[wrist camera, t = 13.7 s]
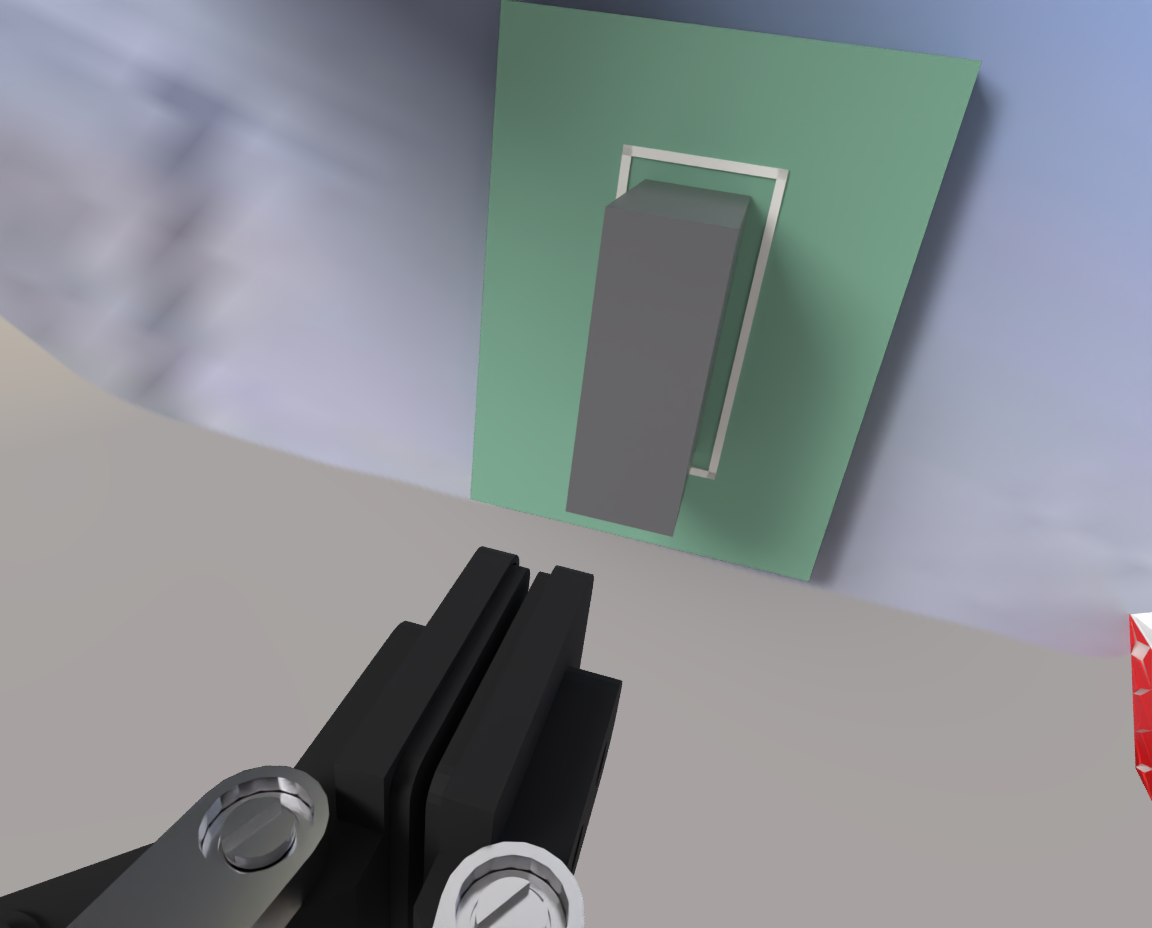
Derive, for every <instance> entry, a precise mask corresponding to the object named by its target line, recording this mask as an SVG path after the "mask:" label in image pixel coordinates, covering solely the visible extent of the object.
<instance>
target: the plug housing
mask: <svg viewBox="0 0 1152 928" xmlns="http://www.w3.org/2000/svg"><path fill="white" fill-rule="evenodd" d="M750 198H751V196H747V195H741V194H735V193H729V192H723V191H716V190H710V189H704V188H698V187H692V186H685V185H679V184H673V183H667V182H661V181H654V180H648V179H645V180H643V181H642V182H640V183H639V184H637V185H636V186H635V187H633V188H632V189H630V190H629V191H627V192H626V193H624V194H623V195H621V196H620V197H619V198H617V199H616V200H614V201H613V202H611V203H610V204H608V205H607V206H605V214H604V221H603V229H602V237H601V244H600V252H599V259H598V267H597V275H596V282H595V290H594V298H593V305H592V313H591V321H590V328H589V336H588V343H587V351H586V359H585V366H584V374H583V382H582V389H581V397H580V404H579V412H578V420H577V427H576V435H575V443H574V450H573V458H572V465H571V473H570V481H569V488H568V496H567V504H566V512H570V513H574V514H578V515H583V516H587V517H591V518H595V519H599V520H604V521H608V522H612V523H616V524H620V525H624V526H629V527H633V528H637V529H641V530H645V531H650V532H654V533H658V534H662V535H666V536H670V537H673V534H674V530H675V526H676V523H677V519H678V515H679V511H680V507H681V504H682V500H683V496H684V492H685V488H686V485H687V481H688V477H689V473H690V469H691V466H692V462H693V458H694V454H695V450H696V445H697V441H698V436H699V432H700V427H701V422H702V418H703V413H704V409H705V404H706V400H707V395H708V390H709V386H710V381H711V377H712V372H713V367H714V363H715V358H716V354H717V349H718V345H719V340H720V335H721V331H722V326H723V322H724V317H725V312H726V308H727V303H728V299H729V294H730V290H731V285H732V280H733V276H734V271H735V267H736V262H737V258H738V253H739V248H740V244H741V239H742V235H743V230H744V225H745V221H746V216H747V212H748V207H749V203H750Z"/></svg>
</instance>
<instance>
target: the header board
mask: <svg viewBox="0 0 1152 928" xmlns="http://www.w3.org/2000/svg"><path fill="white" fill-rule="evenodd" d="M981 62H982V61H979V60H971V59H963V58H955V57H947V56H940V55H932V54H924V53H916V52H908V51H900V50H893V49H885V48H877V47H869V46H861V45H854V44H846V43H838V42H830V41H822V40H815V39H807V38H799V37H791V36H783V35H776V34H768V33H760V32H752V31H744V30H736V29H729V28H721V27H713V26H705V25H697V24H690V23H682V22H674V21H666V20H658V19H651V18H643V17H635V16H627V15H619V14H611V13H604V12H596V11H588V10H580V9H572V8H565V7H557V6H549V5H541V4H533V3H526V2H518V1H510V0H501V10H500V26H499V42H498V58H497V75H496V91H495V107H494V123H493V139H492V156H491V172H490V188H489V204H488V221H487V237H486V253H485V269H484V285H483V302H482V318H481V334H480V350H479V367H478V383H477V399H476V415H475V432H474V448H473V464H472V480H471V496H470V499H471V500H475V501H480V502H484V503H488V504H492V505H496V506H500V507H504V508H508V509H512V510H517V511H521V512H525V513H529V514H533V515H537V516H541V517H545V518H549V519H553V520H558V521H562V522H566V523H570V524H574V525H578V526H582V527H586V528H590V529H595V530H599V531H603V532H607V533H611V534H615V535H619V536H623V537H627V538H632V539H636V540H640V541H644V542H648V543H652V544H656V545H660V546H664V547H668V548H673V549H677V550H681V551H685V552H689V553H693V554H697V555H701V556H705V557H710V558H714V559H718V560H722V561H726V562H730V563H734V564H738V565H742V566H747V567H751V568H755V569H759V570H763V571H767V572H771V573H775V574H779V575H783V576H788V577H792V578H796V579H800V580H804V581H808V582H809V579H810V576H811V573H812V570H813V567H814V564H815V561H816V558H817V555H818V552H819V549H820V546H821V543H822V540H823V537H824V534H825V531H826V528H827V525H828V522H829V519H830V516H831V513H832V510H833V507H834V504H835V501H836V498H837V495H838V492H839V489H840V486H841V483H842V480H843V477H844V474H845V471H846V468H847V465H848V462H849V459H850V456H851V453H852V450H853V447H854V444H855V441H856V438H857V435H858V432H859V429H860V426H861V423H862V420H863V417H864V414H865V411H866V408H867V405H868V402H869V399H870V396H871V393H872V390H873V387H874V384H875V381H876V378H877V375H878V372H879V369H880V366H881V363H882V360H883V357H884V354H885V351H886V348H887V345H888V342H889V339H890V336H891V333H892V330H893V327H894V324H895V321H896V318H897V315H898V312H899V308H900V305H901V302H902V299H903V296H904V293H905V290H906V287H907V284H908V281H909V278H910V275H911V272H912V269H913V266H914V263H915V260H916V257H917V254H918V251H919V248H920V245H921V242H922V239H923V236H924V233H925V230H926V227H927V224H928V221H929V218H930V215H931V212H932V209H933V206H934V203H935V200H936V197H937V194H938V191H939V188H940V185H941V182H942V179H943V176H944V173H945V170H946V167H947V164H948V161H949V158H950V155H951V152H952V149H953V146H954V143H955V140H956V137H957V134H958V131H959V128H960V125H961V122H962V119H963V116H964V113H965V110H966V107H967V104H968V101H969V98H970V95H971V92H972V89H973V86H974V83H975V80H976V77H977V74H978V71H979V68H980V65H981ZM645 179H648V180H654V181H661V182H667V183H673V184H679V185H685V186H692V187H698V188H704V189H710V190H716V191H723V192H729V193H735V194H741V195H747V196H751V198H750V203H749V207H748V212H747V216H746V221H745V225H744V230H743V235H742V239H741V244H740V248H739V253H738V258H737V262H736V267H735V271H734V276H733V280H732V285H731V290H730V294H729V299H728V303H727V308H726V312H725V317H724V322H723V326H722V331H721V335H720V340H719V345H718V349H717V354H716V358H715V363H714V367H713V372H712V377H711V381H710V386H709V390H708V395H707V400H706V404H705V409H704V413H703V418H702V422H701V427H700V432H699V436H698V441H697V445H696V450H695V454H694V458H693V462H692V466H691V469H690V473H689V477H688V481H687V485H686V488H685V492H684V496H683V500H682V504H681V507H680V511H679V515H678V519H677V523H676V526H675V530H674V534H673V537H670V536H666V535H662V534H658V533H654V532H650V531H645V530H641V529H637V528H633V527H629V526H624V525H620V524H616V523H612V522H608V521H604V520H599V519H595V518H591V517H587V516H583V515H578V514H574V513H570V512H566V504H567V496H568V488H569V481H570V473H571V465H572V458H573V450H574V443H575V435H576V427H577V420H578V412H579V404H580V397H581V389H582V382H583V374H584V366H585V359H586V351H587V343H588V336H589V328H590V321H591V313H592V305H593V298H594V290H595V282H596V275H597V267H598V259H599V252H600V244H601V237H602V229H603V221H604V214H605V206H607V205H608V204H610V203H611V202H613V201H614V200H616V199H617V198H619V197H620V196H621V195H623V194H624V193H626V192H627V191H629V190H630V189H632V188H633V187H635V186H636V185H637V184H639V183H640V182H642V181H643V180H645Z"/></svg>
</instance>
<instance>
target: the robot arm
mask: <svg viewBox="0 0 1152 928" xmlns="http://www.w3.org/2000/svg"><path fill="white" fill-rule="evenodd" d="M529 580H530V570H529V569H528V568H524V567H521V566H519V557H518V556H517V555H514V554H511V553H506V552H503V551H499V550H495V549H491V548H487V547H483V546H482V547H479V548H478V550H477V551H476V552H475V554H474V555H473V557H472V558H471V560H470V561H469V563H468V564H467V566H466V567H465V569H464V570H463V572H462V573H461V575H460V576H459V578H458V579H457V580H456V582H455V583H454V585H453V586H452V588H451V589H450V591H449V593H448V594H447V595H446V597H445V598H444V600H443V601H442V603H441V604H440V606H439V607H438V609H437V610H436V612H435V613H434V615H433V616H432V618H431V619H430V621H429V622H428V624H427V625H426V626H423V625H419V624H416V623H412V622H408V621H404V622H402V623H400V624H399V625H398V626H397V627H396V628H395V630H394V631H393V632H392V633H391V635H390V636H389V638H388V639H387V640H386V642H385V643H384V644H383V646H382V647H381V649H380V650H379V652H378V653H377V654H376V656H375V657H374V658H373V660H372V661H371V662H370V664H369V665H368V667H367V668H366V669H365V671H364V672H363V674H362V675H361V676H360V678H359V679H358V680H357V682H356V683H355V685H354V686H353V687H352V689H351V690H350V691H349V693H348V694H347V695H346V697H345V698H344V700H343V701H342V702H341V704H340V705H339V706H338V708H337V709H336V711H335V712H334V714H333V715H332V716H331V718H330V719H329V721H328V722H327V723H326V725H325V726H324V727H323V729H322V730H321V731H320V733H319V734H318V736H317V737H316V738H315V740H314V741H313V743H312V744H311V745H310V746H309V748H308V749H307V751H306V752H305V753H304V755H303V756H302V758H301V759H300V760H299V762H298V763H297V765H296V766H295V767H294V768H291V767H287V766H262V767H258V768H253V769H249V770H244V771H242V772H240V773H238V774H236V775H234V776H231V777H229V778H227V779H225V780H223V781H222V782H220V783H219V784H218V785H216V787H214V788H213V789H211V790H210V791H209V792H207V793H206V794H205V795H204V796H203V797H202V798H201V799H200V800H199V801H198V802H196V803H195V804H194V805H193V806H192V807H191V808H190V809H189V810H188V811H187V812H186V813H185V814H184V815H183V816H182V817H181V818H180V819H179V820H178V821H177V822H176V823H175V824H174V825H173V826H172V827H170V828H169V829H168V830H167V831H166V832H165V833H164V834H163V835H162V836H161V837H160V838H159V839H158V840H157V841H156V842H155V843H152V844H149V845H146V846H143V847H140V848H138V849H135V850H132V851H129V852H126V853H123V854H121V855H118V856H115V857H112V858H109V859H107V860H104V861H101V862H98V863H96V864H93V865H90V866H87V867H84V868H81V869H78V870H76V871H73V872H70V873H67V874H64V875H62V876H59V877H56V878H53V879H50V880H48V881H45V882H42V883H39V884H36V885H34V886H31V887H28V888H25V889H22V890H19V891H17V892H14V893H11V894H8V895H5V896H3V897H0V928H583V927H584V910H583V897H582V895H581V892H580V890H579V887H578V884H577V882H576V879H575V877H574V873H575V869H576V866H577V862H578V859H579V855H580V851H581V848H582V844H583V841H584V837H585V833H586V830H587V826H588V823H589V819H590V816H591V812H592V808H593V805H594V801H595V798H596V794H597V791H598V787H599V783H600V780H601V776H602V772H603V769H604V764H605V760H606V757H607V752H608V749H609V745H610V740H611V736H612V731H613V727H614V722H615V718H616V713H617V708H618V703H619V698H620V693H621V687H622V681H621V680H618V679H614V678H611V677H607V676H603V675H600V674H596V673H592V672H588V671H585V670H582V669H580V663H581V657H582V651H583V645H584V638H585V632H586V626H587V619H588V613H589V607H590V601H591V595H592V589H593V581H594V576H593V574H589V573H585V572H581V571H577V570H574V569H570V568H566V567H562V566H555V568H554V570H553V571H552V573H551V574H548V573H544V572H539V573H538V574H537V576H536V578H535V580H534V582H533V584H532V586H531V588H530V589H529ZM528 589H529V591H528Z"/></svg>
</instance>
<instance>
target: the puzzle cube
mask: <svg viewBox="0 0 1152 928" xmlns="http://www.w3.org/2000/svg"><path fill="white" fill-rule="evenodd" d="M1129 619H1131V621H1130V644H1131V652H1132V653H1131V664H1132V689H1133V713H1134V714H1133V716H1134V741H1135V768H1136V770H1137V772H1138V774H1139V776H1140V778H1141V780H1142V782H1143V784H1144V786H1145V788H1146V790H1147V792H1148V794H1149V796H1150V798H1151V800H1152V613H1140V614H1130V616H1129Z"/></svg>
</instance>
